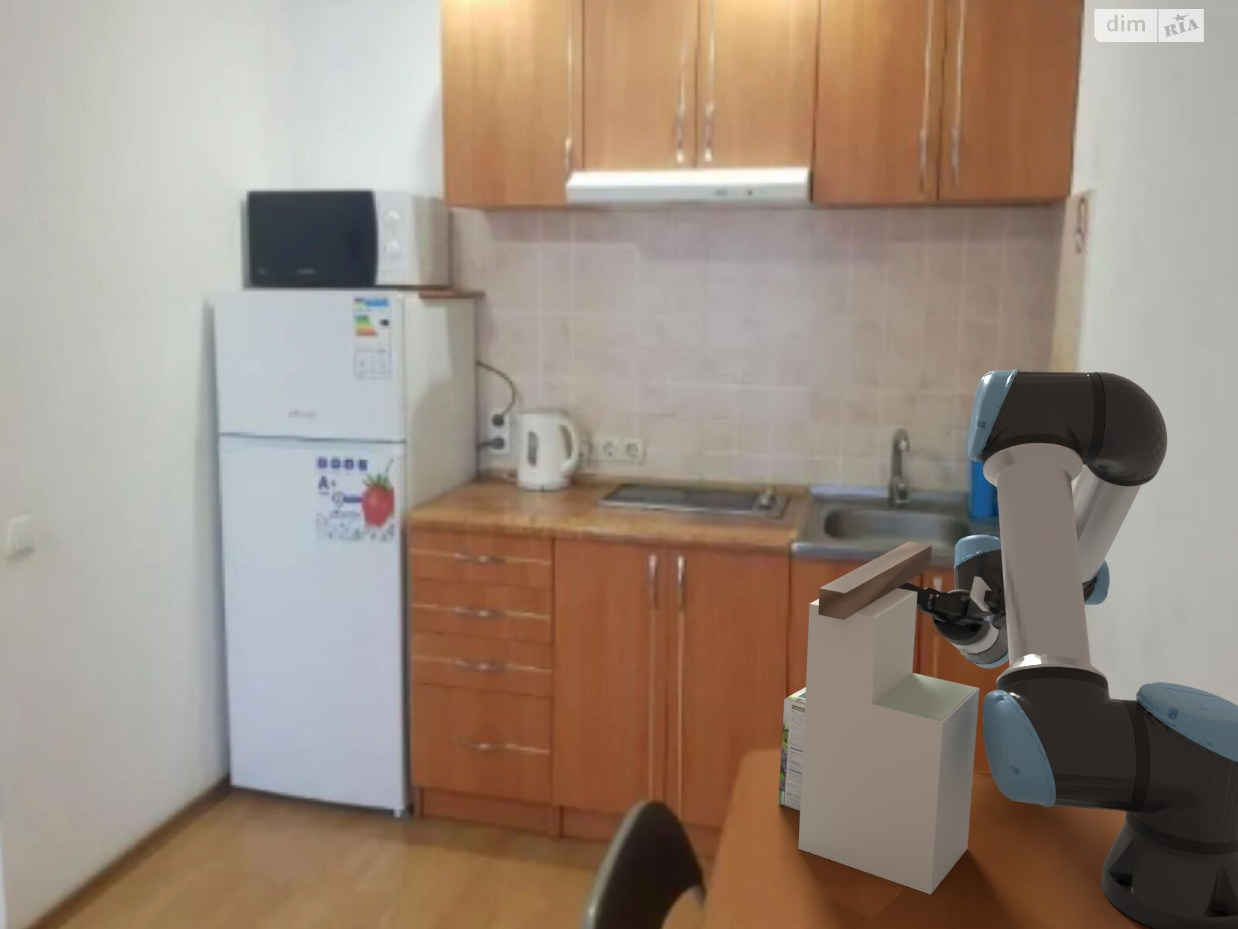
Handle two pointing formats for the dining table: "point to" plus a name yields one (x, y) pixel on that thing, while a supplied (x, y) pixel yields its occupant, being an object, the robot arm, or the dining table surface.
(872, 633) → the step stand
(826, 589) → the walnut bar
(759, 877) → the dining table surface
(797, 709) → the syrup box
